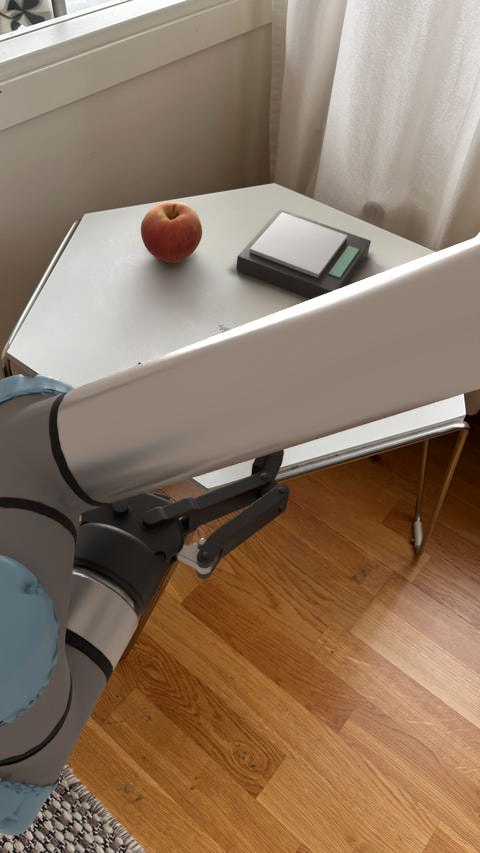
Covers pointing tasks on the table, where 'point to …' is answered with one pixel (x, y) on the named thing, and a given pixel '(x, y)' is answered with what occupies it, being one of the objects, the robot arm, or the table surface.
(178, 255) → the apple
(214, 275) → the table surface
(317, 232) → the scale
